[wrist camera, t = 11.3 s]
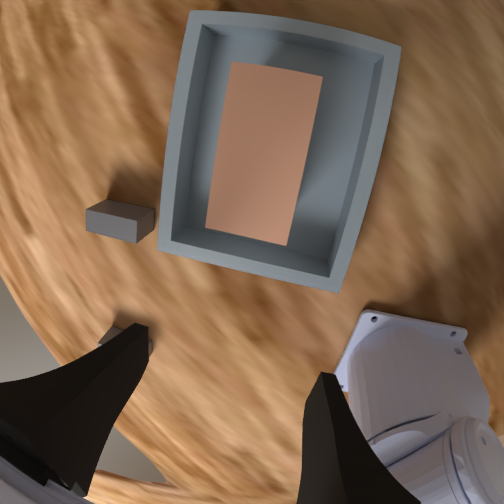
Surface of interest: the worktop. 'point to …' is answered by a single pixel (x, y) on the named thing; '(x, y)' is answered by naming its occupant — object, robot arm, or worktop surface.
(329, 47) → the tray
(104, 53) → the worktop surface
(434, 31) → the worktop surface
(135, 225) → the grey blocks
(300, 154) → the pink and gray block
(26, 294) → the worktop surface
